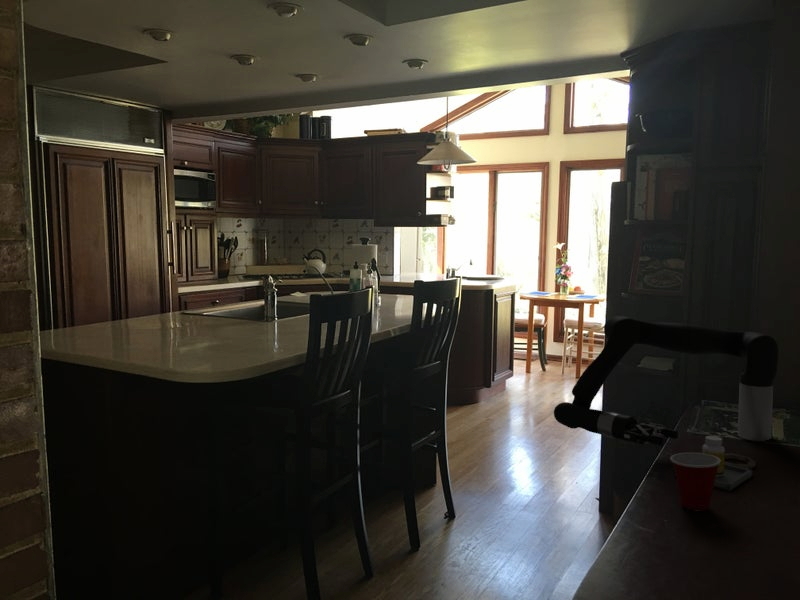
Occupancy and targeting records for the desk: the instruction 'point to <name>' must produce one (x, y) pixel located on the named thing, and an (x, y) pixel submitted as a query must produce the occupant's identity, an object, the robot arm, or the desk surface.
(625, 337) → the robot arm
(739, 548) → the desk surface
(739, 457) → the ring collar
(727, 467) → the tray
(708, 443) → the supplement bottle
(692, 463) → the plastic cup
